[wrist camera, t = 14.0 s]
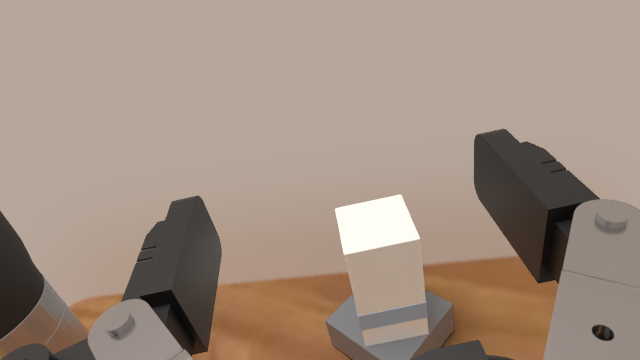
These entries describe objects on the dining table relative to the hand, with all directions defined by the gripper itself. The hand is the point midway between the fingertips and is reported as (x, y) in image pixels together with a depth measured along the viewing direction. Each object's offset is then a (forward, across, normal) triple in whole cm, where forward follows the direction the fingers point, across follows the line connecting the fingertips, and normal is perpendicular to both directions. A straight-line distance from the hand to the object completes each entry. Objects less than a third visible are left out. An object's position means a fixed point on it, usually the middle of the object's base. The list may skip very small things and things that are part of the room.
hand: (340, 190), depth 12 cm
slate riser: (+17, -2, +32) cm, 36 cm away
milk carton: (+17, -2, +28) cm, 33 cm away
